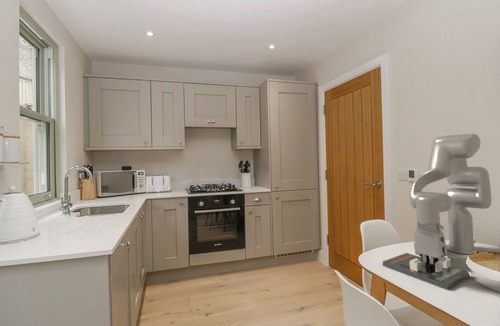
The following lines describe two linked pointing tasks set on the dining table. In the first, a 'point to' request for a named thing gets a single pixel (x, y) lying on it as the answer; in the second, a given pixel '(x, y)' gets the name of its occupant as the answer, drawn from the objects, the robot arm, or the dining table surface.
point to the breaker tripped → (415, 265)
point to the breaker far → (447, 263)
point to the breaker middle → (439, 266)
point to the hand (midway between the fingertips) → (430, 272)
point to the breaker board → (440, 279)
